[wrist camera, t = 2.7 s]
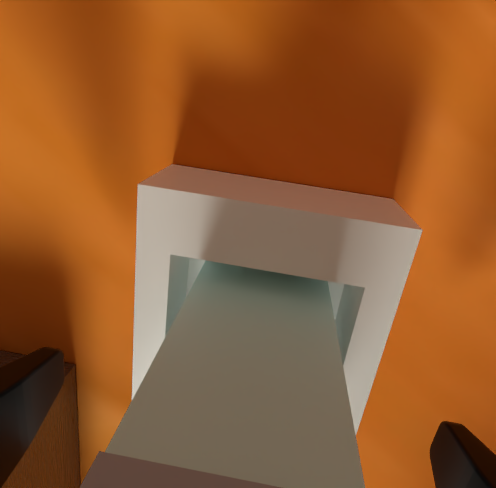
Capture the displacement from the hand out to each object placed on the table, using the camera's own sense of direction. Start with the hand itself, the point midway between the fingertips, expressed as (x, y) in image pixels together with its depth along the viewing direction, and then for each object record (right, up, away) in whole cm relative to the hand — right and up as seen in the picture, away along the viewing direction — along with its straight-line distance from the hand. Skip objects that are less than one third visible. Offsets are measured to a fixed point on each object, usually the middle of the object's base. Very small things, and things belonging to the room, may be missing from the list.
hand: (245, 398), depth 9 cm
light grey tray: (0, +1, +3) cm, 3 cm away
